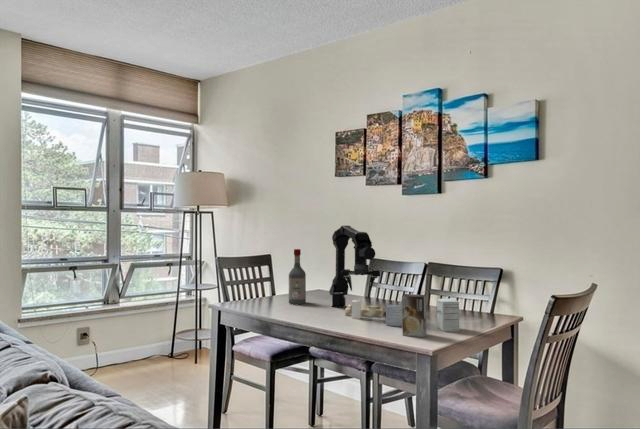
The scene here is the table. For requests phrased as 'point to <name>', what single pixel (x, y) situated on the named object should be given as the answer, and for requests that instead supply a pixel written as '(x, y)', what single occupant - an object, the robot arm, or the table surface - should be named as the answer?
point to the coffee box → (414, 315)
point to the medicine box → (394, 315)
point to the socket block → (367, 311)
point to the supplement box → (448, 315)
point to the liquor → (297, 281)
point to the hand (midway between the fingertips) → (360, 290)
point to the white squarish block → (356, 309)
